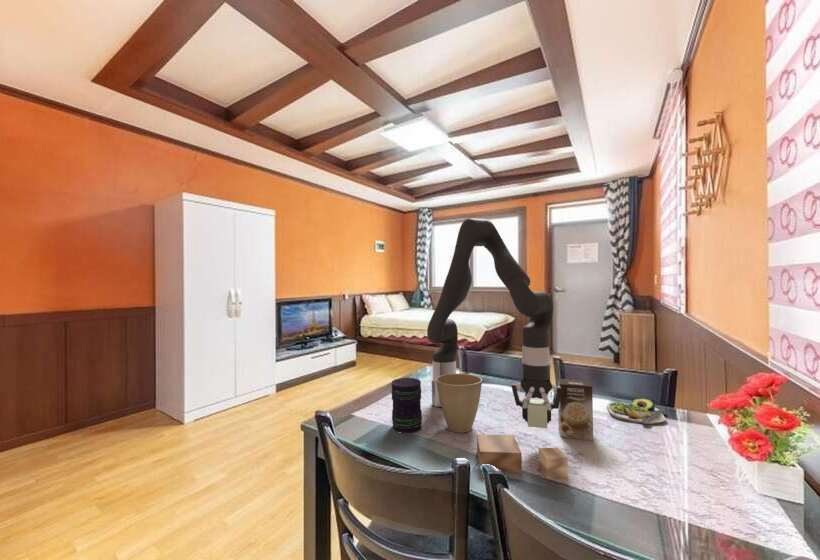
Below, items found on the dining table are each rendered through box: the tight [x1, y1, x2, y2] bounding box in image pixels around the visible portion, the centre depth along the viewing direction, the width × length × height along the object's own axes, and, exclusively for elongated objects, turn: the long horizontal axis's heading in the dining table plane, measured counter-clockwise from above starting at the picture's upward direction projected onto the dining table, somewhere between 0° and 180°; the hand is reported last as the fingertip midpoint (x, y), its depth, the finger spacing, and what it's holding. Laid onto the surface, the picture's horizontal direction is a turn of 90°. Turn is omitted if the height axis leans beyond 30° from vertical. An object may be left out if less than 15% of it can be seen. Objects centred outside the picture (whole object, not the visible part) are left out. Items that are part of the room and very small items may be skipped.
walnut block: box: [476, 433, 523, 473], centre depth 89 cm, size 10×10×5 cm
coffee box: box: [557, 378, 594, 442], centre depth 104 cm, size 9×6×16 cm
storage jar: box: [391, 377, 423, 434], centre depth 112 cm, size 10×10×15 cm
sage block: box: [526, 398, 548, 429], centre depth 96 cm, size 5×5×6 cm
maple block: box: [537, 447, 569, 480], centre depth 83 cm, size 5×5×5 cm
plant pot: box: [436, 373, 483, 434], centre depth 110 cm, size 15×15×16 cm
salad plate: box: [606, 398, 666, 425], centre depth 117 cm, size 19×18×5 cm
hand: (536, 421), depth 96 cm, fingers closed on sage block, 5 cm apart
